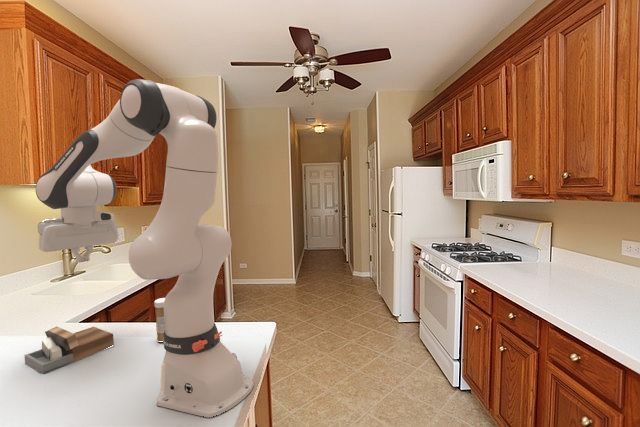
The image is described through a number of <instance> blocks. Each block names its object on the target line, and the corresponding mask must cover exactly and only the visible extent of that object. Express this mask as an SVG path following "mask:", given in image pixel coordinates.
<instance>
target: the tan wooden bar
mask: <svg viewBox="0 0 640 427" xmlns="http://www.w3.org/2000/svg"><path fill="white" fill-rule="evenodd" d="M74 333H75V332H71V331H68V330H67V329H64V328H62V327H59V326H55V327H52V328H50V329H48V330H46V331H44V334H45V336H46V338H49V337H51V339H52V340H53V341H54V343H55V344H56V345H57V346H59V347H60V348H62V349H64V350H66V351H69V350H70V349H72V348H74V347H76V346H78V345H79V343H78V340H77V338H76V335H75V334H74Z"/></svg>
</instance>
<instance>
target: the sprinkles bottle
mask: <svg viewBox="0 0 640 427" xmlns="http://www.w3.org/2000/svg"><path fill="white" fill-rule="evenodd" d="M165 298H166V297H161V298H157V299H155V300H154V302H153V304H154V308H155V327H156V328H155V329H156V338H157V339H156V341H157V340H158V341H163V337H164V331H165V320H164V300H165Z"/></svg>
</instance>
